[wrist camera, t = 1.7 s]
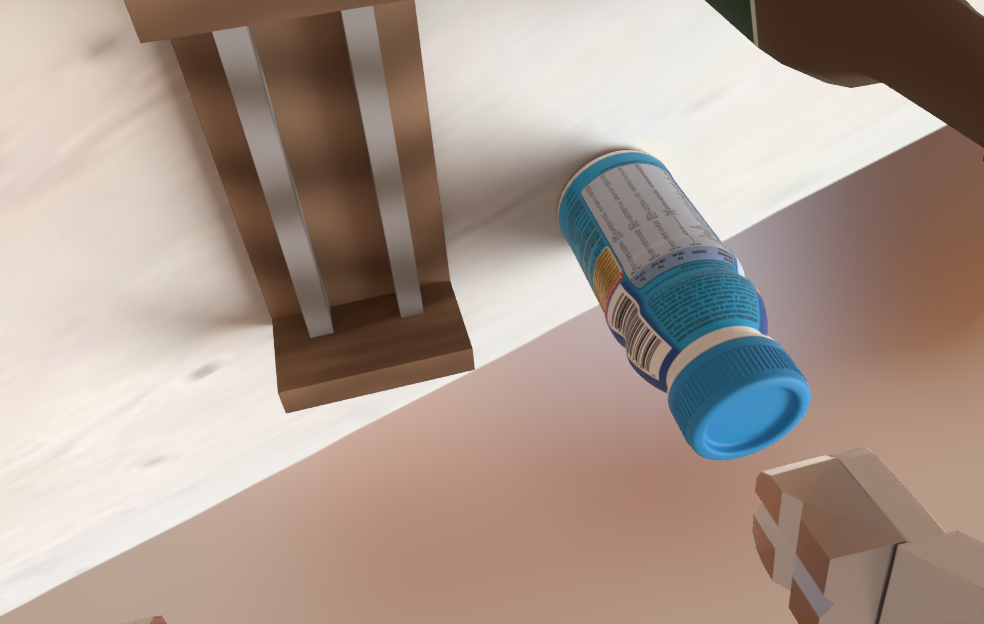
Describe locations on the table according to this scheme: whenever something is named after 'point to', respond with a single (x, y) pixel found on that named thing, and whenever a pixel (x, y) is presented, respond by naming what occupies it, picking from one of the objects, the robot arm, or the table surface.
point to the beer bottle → (878, 48)
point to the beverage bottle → (681, 306)
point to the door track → (326, 183)
